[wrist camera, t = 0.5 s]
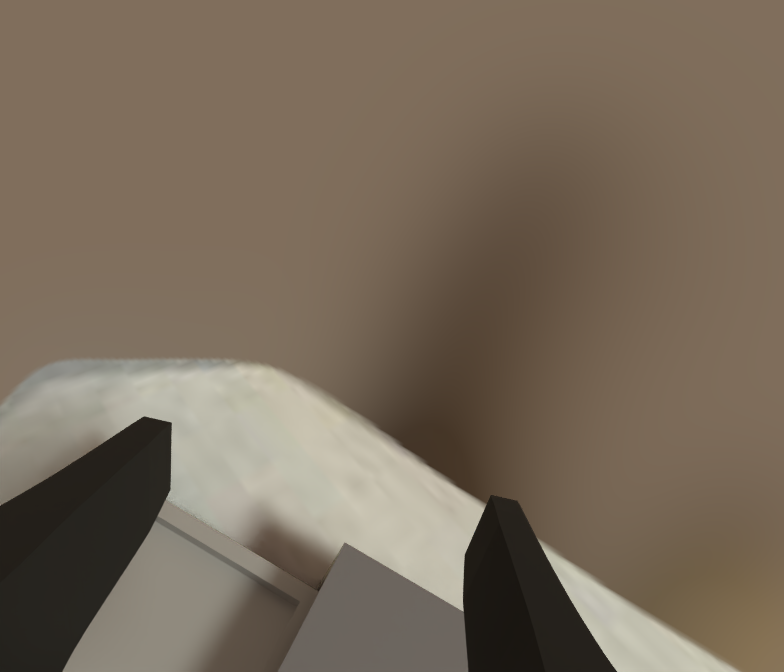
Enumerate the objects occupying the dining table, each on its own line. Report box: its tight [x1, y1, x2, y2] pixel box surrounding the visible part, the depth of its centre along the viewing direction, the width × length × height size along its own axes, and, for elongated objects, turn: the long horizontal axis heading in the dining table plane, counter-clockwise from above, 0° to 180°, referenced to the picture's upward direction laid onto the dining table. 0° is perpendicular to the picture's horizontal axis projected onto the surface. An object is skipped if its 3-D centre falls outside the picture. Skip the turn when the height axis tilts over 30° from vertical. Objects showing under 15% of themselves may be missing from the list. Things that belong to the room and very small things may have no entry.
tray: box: [63, 500, 319, 672], centre depth 22 cm, size 12×12×3 cm
